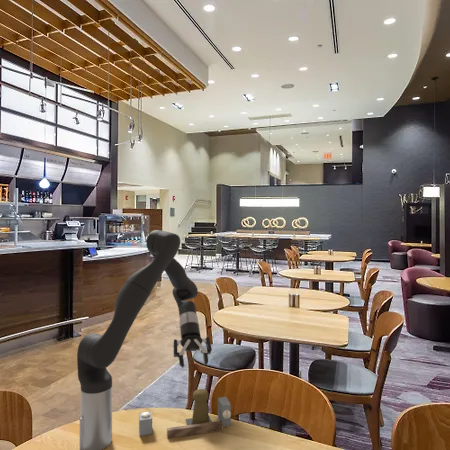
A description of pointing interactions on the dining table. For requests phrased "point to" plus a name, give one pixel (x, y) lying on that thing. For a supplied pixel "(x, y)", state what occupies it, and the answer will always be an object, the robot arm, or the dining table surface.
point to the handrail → (194, 429)
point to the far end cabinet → (224, 411)
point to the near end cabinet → (145, 423)
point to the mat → (189, 421)
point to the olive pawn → (200, 407)
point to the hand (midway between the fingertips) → (194, 365)
